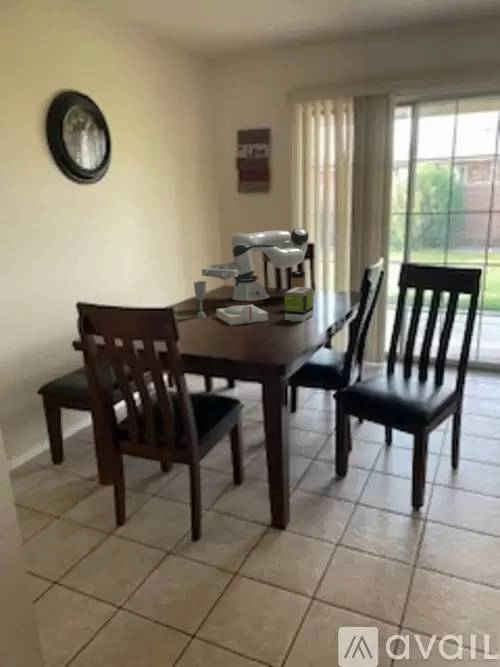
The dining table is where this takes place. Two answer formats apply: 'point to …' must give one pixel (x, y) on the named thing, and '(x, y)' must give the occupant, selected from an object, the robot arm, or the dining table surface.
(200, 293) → the chalice
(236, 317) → the dial scale
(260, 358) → the dining table surface
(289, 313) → the tea box
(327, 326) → the dining table surface
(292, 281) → the travel mug
